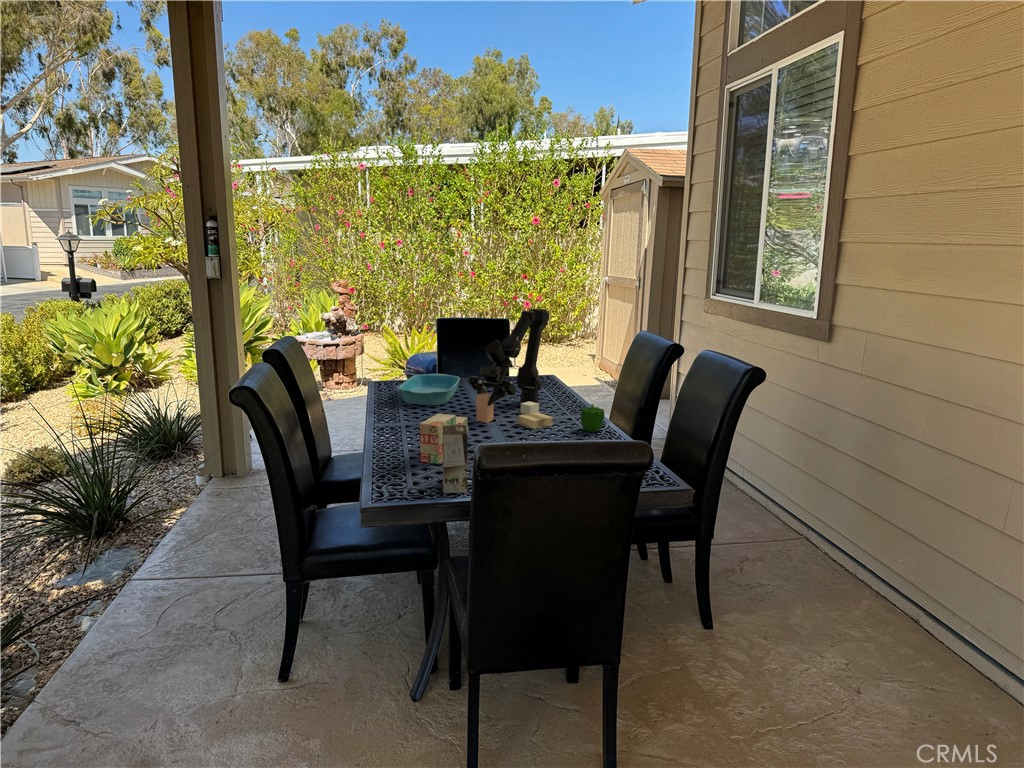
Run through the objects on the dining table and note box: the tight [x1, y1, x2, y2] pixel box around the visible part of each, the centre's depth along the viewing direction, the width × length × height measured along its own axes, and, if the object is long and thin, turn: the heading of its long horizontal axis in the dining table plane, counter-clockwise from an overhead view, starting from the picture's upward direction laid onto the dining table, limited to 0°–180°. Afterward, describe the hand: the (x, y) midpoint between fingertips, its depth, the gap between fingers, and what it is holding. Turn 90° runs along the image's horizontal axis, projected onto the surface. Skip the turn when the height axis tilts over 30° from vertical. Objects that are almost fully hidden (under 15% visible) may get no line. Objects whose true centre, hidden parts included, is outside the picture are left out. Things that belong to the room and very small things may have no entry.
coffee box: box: [442, 425, 469, 494], centre depth 173 cm, size 9×6×16 cm
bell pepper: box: [580, 403, 605, 433], centre depth 231 cm, size 8×8×10 cm
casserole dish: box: [398, 373, 461, 406], centre depth 277 cm, size 37×22×7 cm, turn 175°
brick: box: [520, 401, 540, 415], centre depth 254 cm, size 5×5×4 cm
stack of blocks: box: [419, 413, 469, 465], centre depth 203 cm, size 21×6×12 cm, turn 159°
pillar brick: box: [476, 392, 494, 424], centre depth 241 cm, size 4×4×10 cm
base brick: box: [517, 412, 554, 430], centre depth 237 cm, size 9×9×4 cm
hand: (482, 404), depth 239 cm, fingers closed on pillar brick, 4 cm apart
